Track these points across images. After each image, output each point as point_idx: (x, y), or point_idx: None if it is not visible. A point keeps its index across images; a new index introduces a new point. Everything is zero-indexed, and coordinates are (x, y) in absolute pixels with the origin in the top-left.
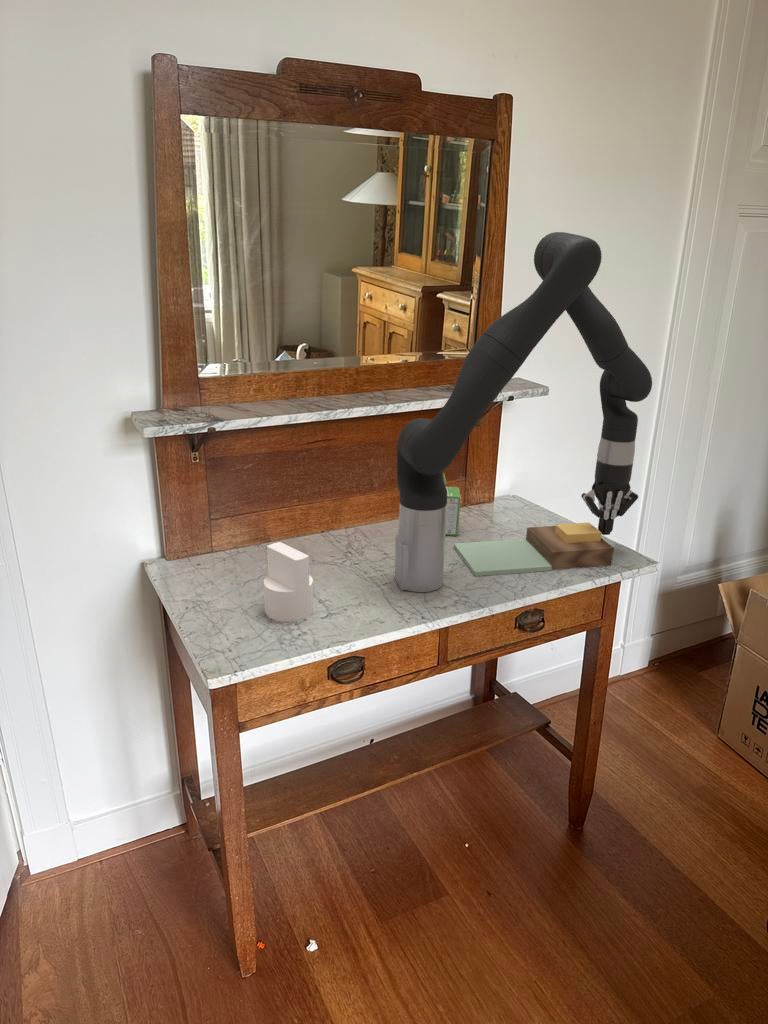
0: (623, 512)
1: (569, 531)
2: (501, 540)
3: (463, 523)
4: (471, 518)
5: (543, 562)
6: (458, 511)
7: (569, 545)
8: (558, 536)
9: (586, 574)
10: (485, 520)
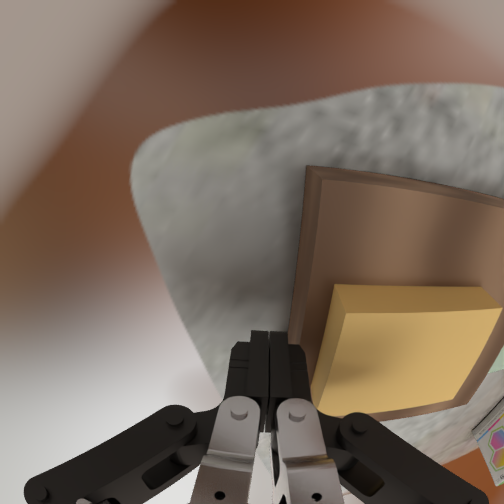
0: (155, 425)
1: (470, 341)
2: (493, 371)
3: (456, 438)
4: (428, 455)
5: None
6: None
7: (486, 264)
8: None
9: (445, 122)
10: None
